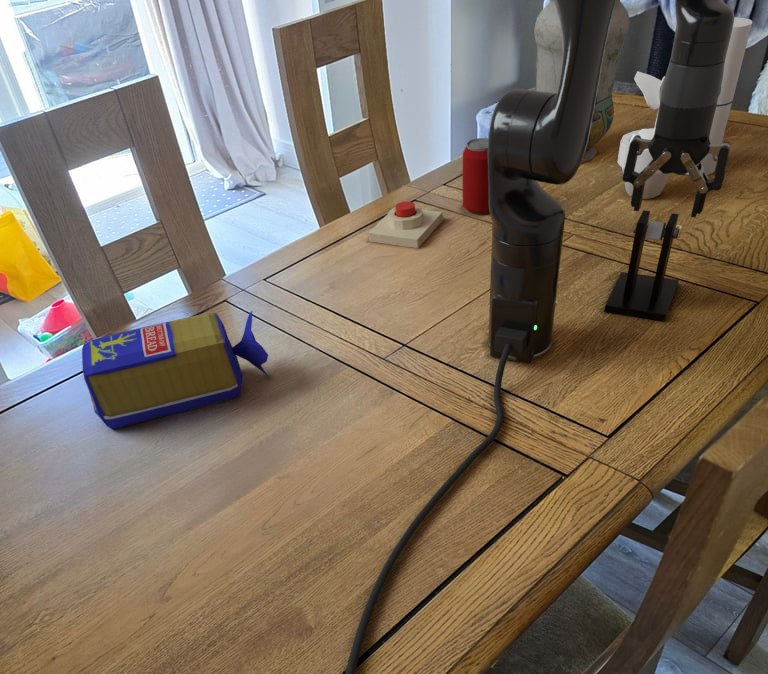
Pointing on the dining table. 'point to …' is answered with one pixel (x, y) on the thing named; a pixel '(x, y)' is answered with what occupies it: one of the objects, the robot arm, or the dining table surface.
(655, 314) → the bracket
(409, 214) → the button
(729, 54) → the cylindrical container
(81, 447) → the dining table surface
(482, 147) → the beverage can
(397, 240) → the button box
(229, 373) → the bread
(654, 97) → the potted plant
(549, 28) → the vase
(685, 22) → the robot arm
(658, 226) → the lever
